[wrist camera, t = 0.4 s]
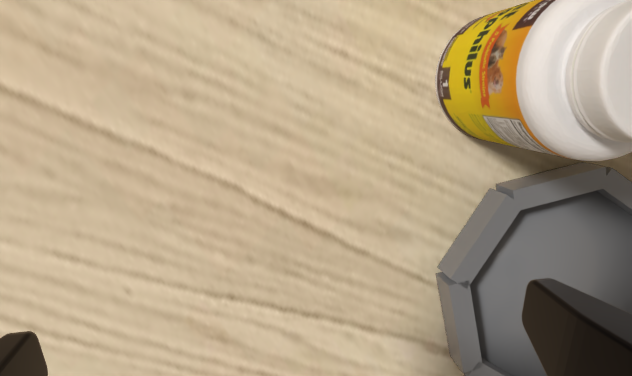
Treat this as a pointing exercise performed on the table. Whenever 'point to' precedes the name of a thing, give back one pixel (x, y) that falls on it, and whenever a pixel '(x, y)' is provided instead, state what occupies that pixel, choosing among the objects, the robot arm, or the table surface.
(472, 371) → the dish
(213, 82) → the table surface
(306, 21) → the table surface
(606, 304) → the robot arm
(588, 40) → the supplement bottle
